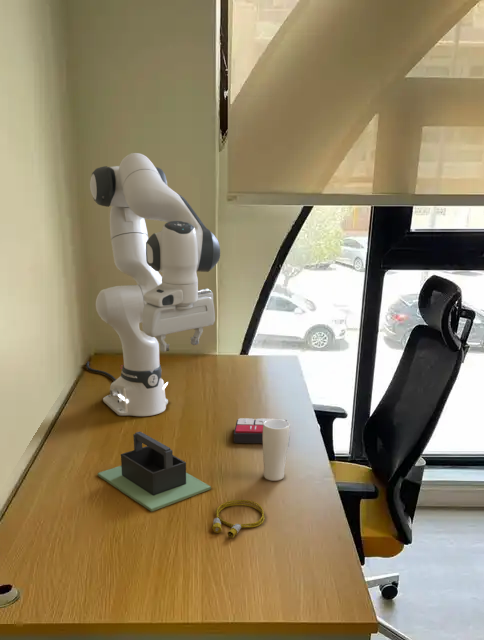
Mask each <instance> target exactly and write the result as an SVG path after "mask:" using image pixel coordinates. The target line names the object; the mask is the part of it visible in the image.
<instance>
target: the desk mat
mask: <svg viewBox="0 0 484 640" xmlns="http://www.w3.org/2000/svg"><path fill="white" fill-rule="evenodd" d="M97 476H98V477H99V478H100V479H102V480H104V481H106V482H107V484H110V485H111V486H112V487H114V488H115V489H117V490H118V491H120V492H121V493H123V494H124V495H126V496H127V497H129V498H130V499H132V500H133V501H135V502H136V503H138V504H140V505H141V506H142V507H144V508H145V509H147V510H148V511H150V512H152V513H153V512H155V511H157V510H161V509H163V508H165V507H168V506H170V505H174V504H175V503H178V502H181V501H183V500H186V499H189V498H192V497H195V496H197V495H200V494H202V493H204V492H208V491H209V490H212V487H211V485H209V484H208V483H206V482H203V481H202V480H201V479H199V478H197V477H195V476H193V475H191V474H190V473H188V472H186V484H184V485H182V486H179V487H176V488H173V489H171V490H168V491H165V492H162V493H160V494H157V495H154V496H153V495H151V494H150V493H148V492H147V491H145V490H144V489H142V488H141V487H139V486H138V485H136V484H135V483H133V482H131V481H130V480H128V479H127V478H125V477H124V476H122V467H121V465H118V466H115V467H112V468H110V469H106V470H103V471H99V472H97Z"/></svg>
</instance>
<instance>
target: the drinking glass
mask: <svg viewBox="0 0 484 640" xmlns="http://www.w3.org/2000/svg"><path fill="white" fill-rule="evenodd" d="M269 419H270V420H267V421H265V422H264V423H263V443H262V457H263V460H262V461H263V477H264V478H265V479H266V480H268V481H272V482H278V481H281V480H283V479H284V477H285V470H286V469H285V468H286V463H287V456H288V450H289V445H290V444H289V443H290V433H291V432H290V431H291V429H290V428H291V425H290V424H291V423H289V421H288V420H287V421H285V420H286V419H285V420H281V419H282V418H281V419H280V418H269Z"/></svg>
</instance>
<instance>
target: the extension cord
mask: <svg viewBox="0 0 484 640" xmlns="http://www.w3.org/2000/svg"><path fill="white" fill-rule="evenodd" d="M234 506H245V507H250V508H254V509H256V510H257V511H258V512H260V514H261V516H260V518H259V520H257V521H255V522H250V523H241V524H240V523H231V522H228V521H227V520H224V519H223V518H221V516H219V515H220V512H222V511H223V509H225V508H229V507H234ZM264 511H265V510H264V509H263V507H262V505H261V504H259V503H258V502H256V501H253V500H250V499H249V500H248V499H234V500H229V501H226V502H223V503H221V504H220V505H219V506H218V507H217V508H216V510H215V515H216V517H215V518H213V521H212V522H213V523H212V526H211V530H212V531H213V532H214V533H215V534H219V533H222V531H223V530H222V524H224V525H225V526H228V527H229V528H230V529H229V530H228V531H227V536H228V537H229V538H235V536H237V535H238V533H239V532H240V530H241V529H245V528H246V529H247V528H249V529H250V528H251V529H252V528H256V527H259V526H261V525H262V524H263V523H264V521H265V512H264Z"/></svg>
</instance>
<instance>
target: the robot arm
mask: <svg viewBox="0 0 484 640" xmlns="http://www.w3.org/2000/svg"><path fill="white" fill-rule="evenodd" d="M89 189H90V193H91V196H92V198H93V201H94V202H95V203H96V205H99V206H101V207H107V208H109V207H110V211H109V232H110V233H109V234H110V243H111V249H112V255H113V262H114V265H115V267H116V269H117V270H118V271H120V272H121V273H122V274H124V275H126V276H129V277H131V278H132V279H133V280H134V281H135V283H136V284H129V285H114V286H111V287H107V288H104V289H101V290H100V291H99V292H98V294H97V296H96V299H95V310H96V312H97V315H98V317H99V318H100V319H101V321H103V322H104V323H106V324H107V325H109V326H110V327H111V328H112V329H113V330H114V331H115V332H116V334H117V335H118V338H119V340H120V343H121V348H122V358H123V364H121V365H120V368H119V370H121V373H120V376H119V377H118V378H115V377H114V376H113V375H112V374H111V373H110V372H109V373H108V372H107V371H104V370H101V369H100V370H99V369H95V368H91V367H90V361H89V360H88V361H86V362H87V363H85V367H86V369H87V370H88V371H90V372H93V373H97V374H102V375H105V376H107V377H109V378H110V379H111V380H112V381H113V382H111V384H110V386H109V394H108V395H105V396H104V397H103V398H102V402H103V403H104V404H106V405H107V407H108V408H110V409H111V410H112V411H113V412H114V413H115V414H116V415H117V416H131V417H132V416H133V417H150V416H155V415H158V414H162V413H163V412H165V411H166V409H167V405H168V404H169V399H168V398H166V390H165V389H166V387H167V386H168V384H169V381H167V382H166V383H165V381H164V380H163V378H162V372H163V371H162V365H161V364H160V363H161V362H160V351H161V352H162V353H166V352H169V351H170V343H167V342H166V341H165V340H166V338H167V337H166V336H167V335H169V334H176V333H181V332H185V331H191V330H194V333H193V335H192V336H191V337H190V345H192V346H197V345H200V338H201V336H202V334H203V332H204V327H211V326H213V325H214V324H215V322H216V310H215V303H214V293H213V291H212V290H210V289H209V288H203V289H199V278H198V274H197V272H199V273H200V272H201V273H202V272H203V273H209V272H210V271H212V269H214V267H215V266H216V265H217V264H218V263H219V261H220V259H221V246H220V243H219V240H218V238H217V236H215V234H214V233H213V232H212V231H211V230H210V229H208V228H207V226H206V225H205V224H204V223H203V221H202V220H201V218H200V217H199V216H198V214H197V212H195V210H194V209H193V208H192V206H191V205H190V203H189V201H187V200H186V198H185V197H183V196H182V195H181V194H179V193H177V192H176V191H175V190H174V189H172V188H171V187H170V186H168V180H167V176H166V173H165V172H164V171H163V169H162V168H160V167H157V166H155V164H154V163H153V161H151V160H150V158H149V157H147V156H146V155H145V154H143V153H140V152H131V153H129V154H127V155H126V156H124V157H123V158H122V160H121V161H120V163H119V165H113V166H107V165H105V166H100V167H97V168H95V169H94V170H93V171H92V172H91V177H90V180H89ZM146 220H150V221H151V220H152V221H158V222H166V223H164V224H163V226H162V229H161V231H158V232H154V233H152V234H151V235H150V236H149V234H148V233H149V232H148V228H147V223H146ZM161 273H162V275H161ZM140 324H141V325H142V330H141V328H140Z"/></svg>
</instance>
